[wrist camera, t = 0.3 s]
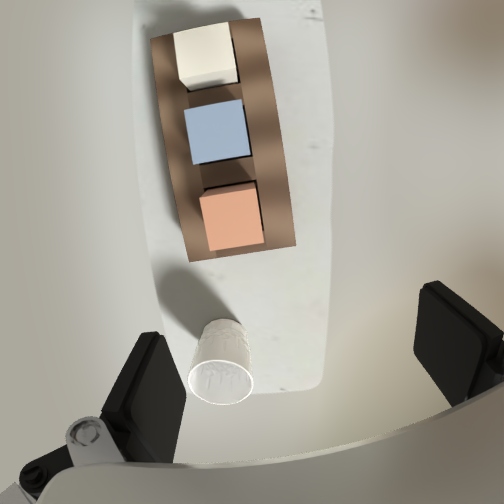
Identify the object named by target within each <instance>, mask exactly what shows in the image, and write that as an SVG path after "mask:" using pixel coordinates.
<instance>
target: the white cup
mask: <svg viewBox="0 0 504 504" xmlns="http://www.w3.org/2000/svg"><path fill="white" fill-rule="evenodd" d="M187 381H188V385H189V388H190V389H191V391H192V392H193V393H194V394H195V395H196V396H198V397H199V398H200V399H202V400H204V401H206V402H209V403H212V404H219V405H227V404H234V403H237V402H240V401H241V400H243V399H245V398H246V397H247V396H248V395H249V394H250V393H251V391H252V389H253V375H252V365H251V355H250V348H249V345H248V338H247V332H246V330H245V329H244V328H243V326H242V325H241V324H239V323H237V322H235V321H234V320H230V319H222V318H221V319H218V320H214V321H211V322H210V323H209V324H207V325H206V326H205V327H204V330H203V332H202V335H201V338H200V340H199V342H198V345H197V347H196V351H195V354H194V357H193V360H192V364H191V367H190V370H189V374H188V378H187Z"/></svg>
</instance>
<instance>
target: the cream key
mask: <svg viewBox="0 0 504 504" xmlns="http://www.w3.org/2000/svg"><path fill="white" fill-rule="evenodd" d="M173 35H174V43H175V51H176V59H177V66H178V73H179V79H180V80H181V81H182V83H183V84H184V85H185V86H186V87H187V88H188V89H189V90H190V91H191V92H193V91H197V90H202V89H207V88H212V87H218V86H223V85H229V84H235V83H238V81H237V72H236V65H235V59H234V54H233V48H232V42H231V37H230V31H229V25H228V22H224V23H218V24H213V25H207V26H202V27H197V28H193V29H188V30H184V31H180V32H176V33H173Z"/></svg>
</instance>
